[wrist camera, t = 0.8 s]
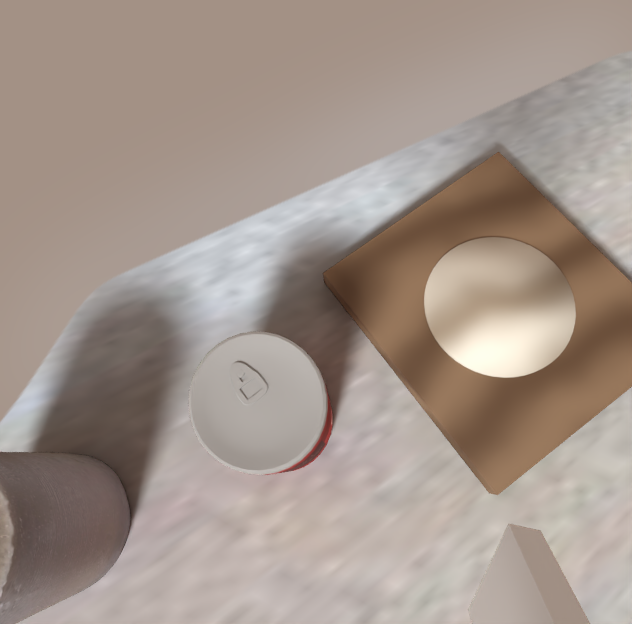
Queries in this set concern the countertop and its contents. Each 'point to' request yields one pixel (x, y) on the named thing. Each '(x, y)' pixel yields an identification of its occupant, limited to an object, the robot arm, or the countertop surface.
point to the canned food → (260, 404)
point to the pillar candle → (56, 528)
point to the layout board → (494, 318)
